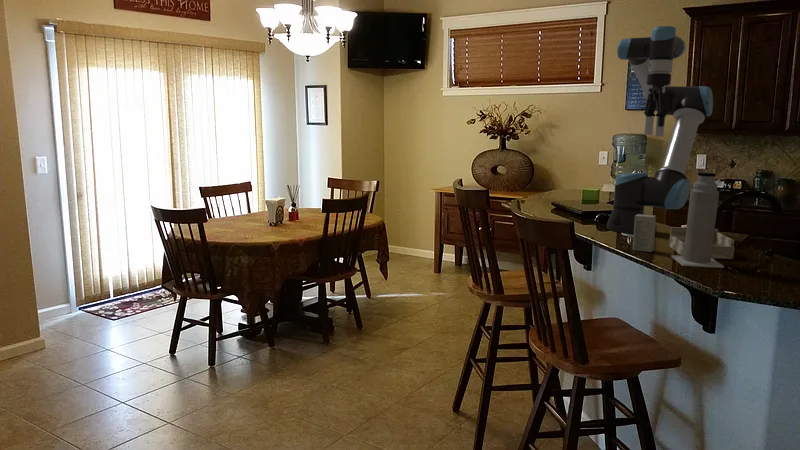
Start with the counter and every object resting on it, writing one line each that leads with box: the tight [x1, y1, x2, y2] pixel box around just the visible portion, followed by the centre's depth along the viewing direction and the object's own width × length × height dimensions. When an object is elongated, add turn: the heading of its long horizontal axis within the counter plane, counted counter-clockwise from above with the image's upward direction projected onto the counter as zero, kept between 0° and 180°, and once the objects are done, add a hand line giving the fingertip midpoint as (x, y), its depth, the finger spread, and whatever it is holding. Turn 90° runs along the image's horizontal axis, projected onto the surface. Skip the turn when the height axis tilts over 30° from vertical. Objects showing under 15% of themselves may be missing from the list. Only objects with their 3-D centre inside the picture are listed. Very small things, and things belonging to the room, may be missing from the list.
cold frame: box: [668, 226, 736, 260], centre depth 205 cm, size 16×16×7 cm
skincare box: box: [632, 214, 657, 253], centre depth 206 cm, size 6×4×12 cm
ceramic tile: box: [670, 254, 725, 269], centre depth 192 cm, size 12×12×1 cm
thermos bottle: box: [683, 171, 720, 263], centre depth 189 cm, size 8×8×28 cm
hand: (653, 135), depth 211 cm, fingers open, 13 cm apart
